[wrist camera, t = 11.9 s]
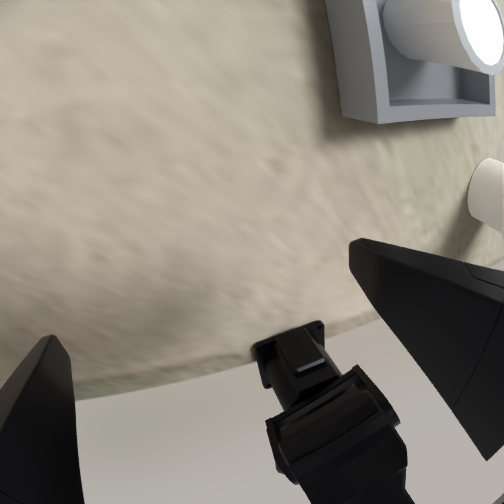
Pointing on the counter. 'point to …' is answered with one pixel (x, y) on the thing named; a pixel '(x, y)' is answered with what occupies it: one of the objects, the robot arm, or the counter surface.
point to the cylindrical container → (488, 194)
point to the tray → (396, 73)
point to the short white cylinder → (448, 32)
